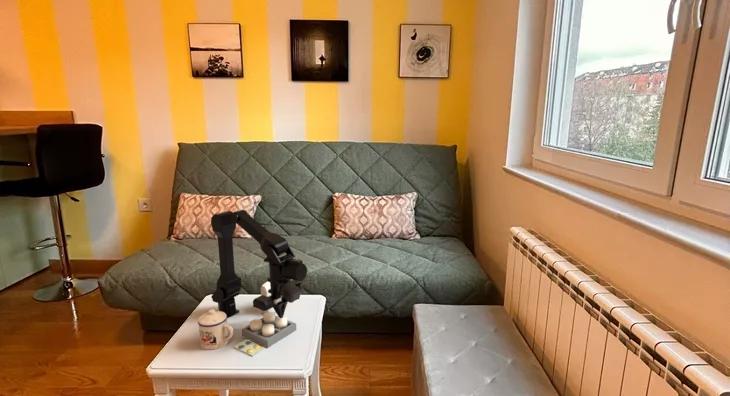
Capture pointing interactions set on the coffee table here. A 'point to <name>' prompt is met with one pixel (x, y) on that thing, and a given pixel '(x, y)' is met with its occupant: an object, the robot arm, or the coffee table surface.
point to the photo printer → (264, 292)
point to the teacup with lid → (214, 329)
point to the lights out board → (262, 338)
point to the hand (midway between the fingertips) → (281, 317)
